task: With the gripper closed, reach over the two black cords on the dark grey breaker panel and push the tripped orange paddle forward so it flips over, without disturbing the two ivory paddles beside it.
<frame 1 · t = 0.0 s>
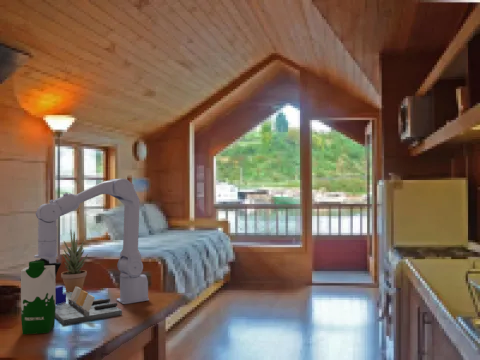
hand: (47, 282, 151), 10 cm above the table, tool pointing down, fingers open, 7 cm apart
cords: (102, 309, 155), resting on breaker panel
ivory paddle 2: (88, 302, 145), point 5 cm above the table, hinge at -25.0°
milk carton: (39, 330, 134), on the table
ivory paddle 1: (75, 294, 157), point 5 cm above the table, hinge at -25.0°
orange paddle: (81, 298, 151), point 5 cm above the table, hinge at -25.0°
cable clip: (48, 302, 167), on the table
breaker panel: (84, 312, 152), on the table
potted plant: (73, 291, 184), on the table
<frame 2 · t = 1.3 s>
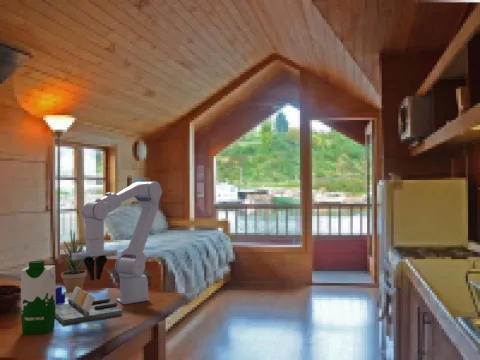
hand: (95, 279, 154), 10 cm above the table, tool pointing down, fingers closed
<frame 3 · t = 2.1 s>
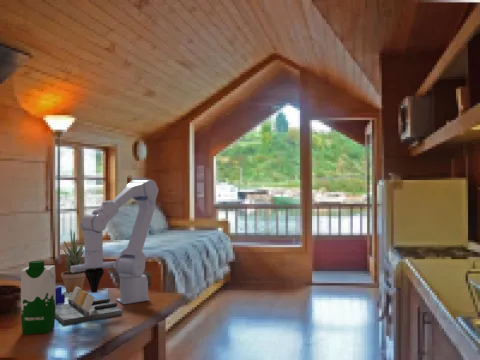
hand: (93, 291, 153), 6 cm above the table, tool pointing down, fingers closed
nothing on the table moved.
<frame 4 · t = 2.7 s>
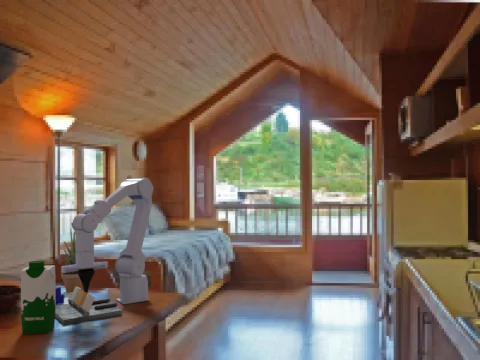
hand: (85, 292, 152), 7 cm above the table, tool pointing down, fingers closed, pressing on orange paddle
orange paddle: (81, 298, 151), point 5 cm above the table, hinge at -23.3°, touching gripper
everything else where it was.
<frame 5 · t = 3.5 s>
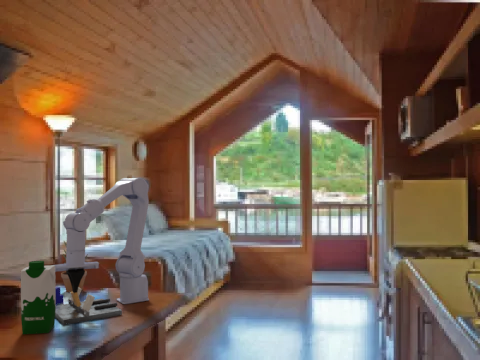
hand: (74, 292, 150), 7 cm above the table, tool pointing down, fingers closed, pressing on orange paddle
orange paddle: (75, 298, 150), point 5 cm above the table, hinge at 17.1°, touching gripper
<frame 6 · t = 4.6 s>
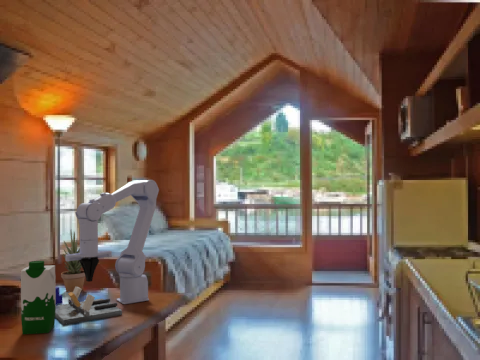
hand: (89, 281, 153), 10 cm above the table, tool pointing down, fingers closed
orange paddle: (74, 299, 150), point 5 cm above the table, hinge at 28.0°
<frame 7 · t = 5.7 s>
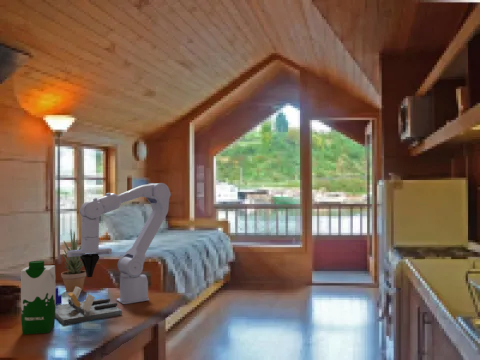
hand: (89, 276, 159), 10 cm above the table, tool pointing down, fingers closed
orange paddle: (74, 299, 150), point 5 cm above the table, hinge at 28.5°
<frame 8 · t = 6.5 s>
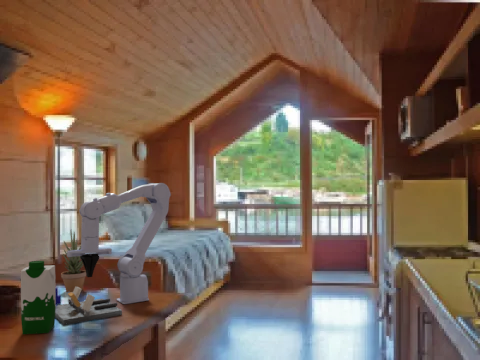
hand: (89, 276, 159), 10 cm above the table, tool pointing down, fingers closed
at the end: orange paddle at +29° (first picture: -25°); ivory paddle 2 at -25° (first picture: -25°); ivory paddle 1 at -25° (first picture: -25°) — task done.
